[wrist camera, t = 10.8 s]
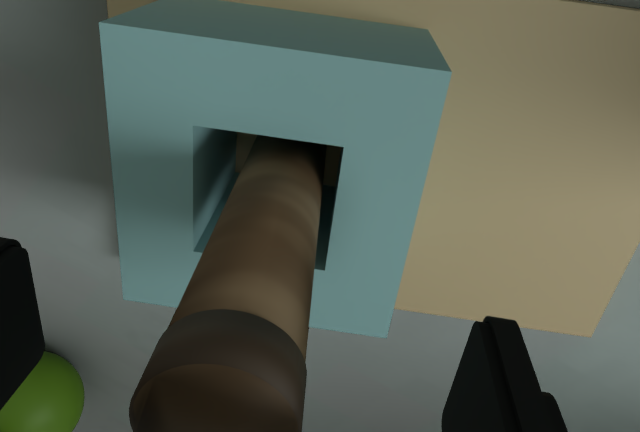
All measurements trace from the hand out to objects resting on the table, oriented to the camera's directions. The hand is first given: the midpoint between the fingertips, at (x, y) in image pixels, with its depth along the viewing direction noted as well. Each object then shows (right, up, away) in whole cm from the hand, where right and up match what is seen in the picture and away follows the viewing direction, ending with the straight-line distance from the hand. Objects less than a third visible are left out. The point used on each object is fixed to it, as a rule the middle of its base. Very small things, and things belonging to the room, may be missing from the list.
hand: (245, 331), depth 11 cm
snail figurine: (-13, -6, +19) cm, 24 cm away
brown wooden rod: (+1, +6, +10) cm, 11 cm away
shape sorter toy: (+4, +5, +11) cm, 13 cm away
